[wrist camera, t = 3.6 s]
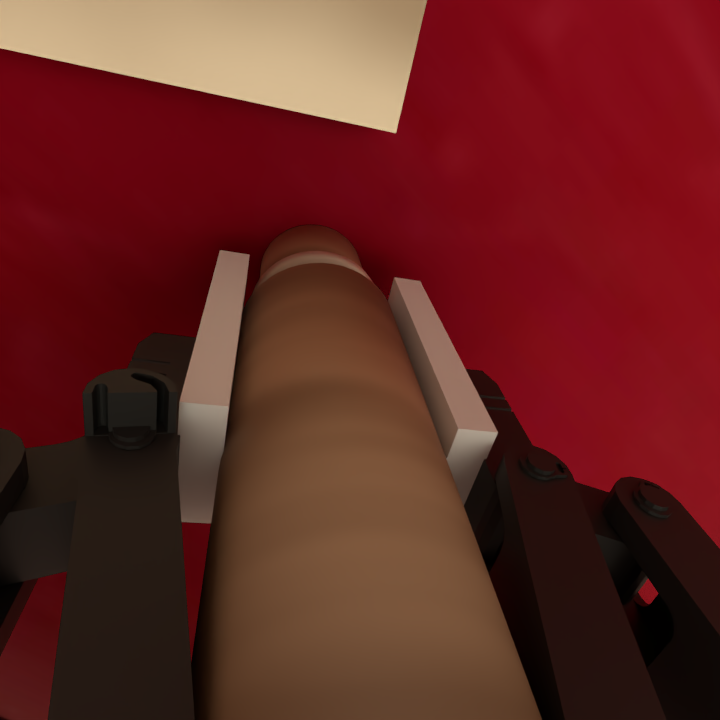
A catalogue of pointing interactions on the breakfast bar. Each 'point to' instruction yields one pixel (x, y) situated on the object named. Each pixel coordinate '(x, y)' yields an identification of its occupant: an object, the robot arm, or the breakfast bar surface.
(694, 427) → the breakfast bar surface
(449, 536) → the peg
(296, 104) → the board
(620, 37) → the breakfast bar surface
